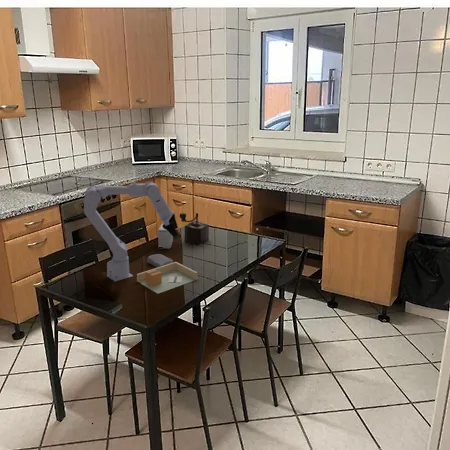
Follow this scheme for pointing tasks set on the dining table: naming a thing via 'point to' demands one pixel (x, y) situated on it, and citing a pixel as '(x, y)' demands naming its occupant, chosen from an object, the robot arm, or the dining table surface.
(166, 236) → the light bulb box
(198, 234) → the pepper mill
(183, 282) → the tray
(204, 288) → the dining table surface
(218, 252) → the dining table surface
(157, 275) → the cube
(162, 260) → the stone block
